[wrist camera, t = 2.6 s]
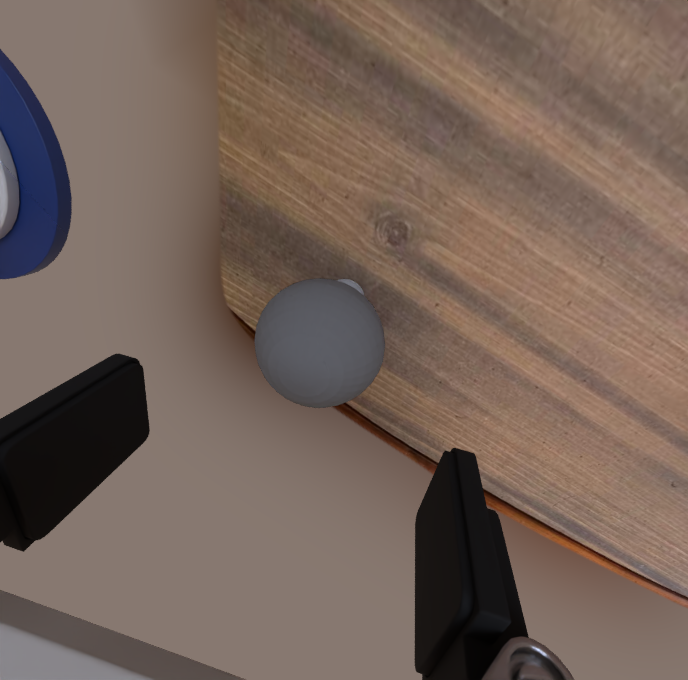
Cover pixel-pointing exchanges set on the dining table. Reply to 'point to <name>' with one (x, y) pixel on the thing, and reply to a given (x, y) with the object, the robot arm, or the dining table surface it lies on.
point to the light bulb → (320, 342)
